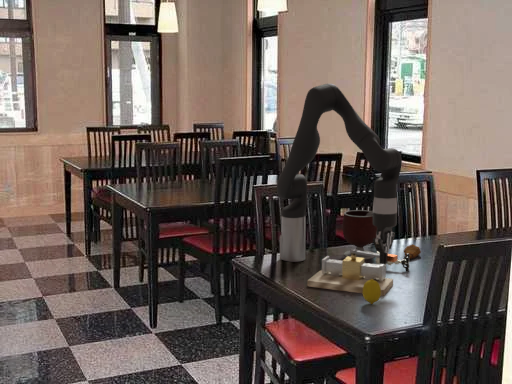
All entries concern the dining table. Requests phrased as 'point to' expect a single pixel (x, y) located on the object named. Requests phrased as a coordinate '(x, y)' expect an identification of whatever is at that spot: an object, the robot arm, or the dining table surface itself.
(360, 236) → the mate gourd
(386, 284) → the valve board
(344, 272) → the pipe valve
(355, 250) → the valve lever
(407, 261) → the valve
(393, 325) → the dining table surface
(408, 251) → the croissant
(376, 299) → the lemon
